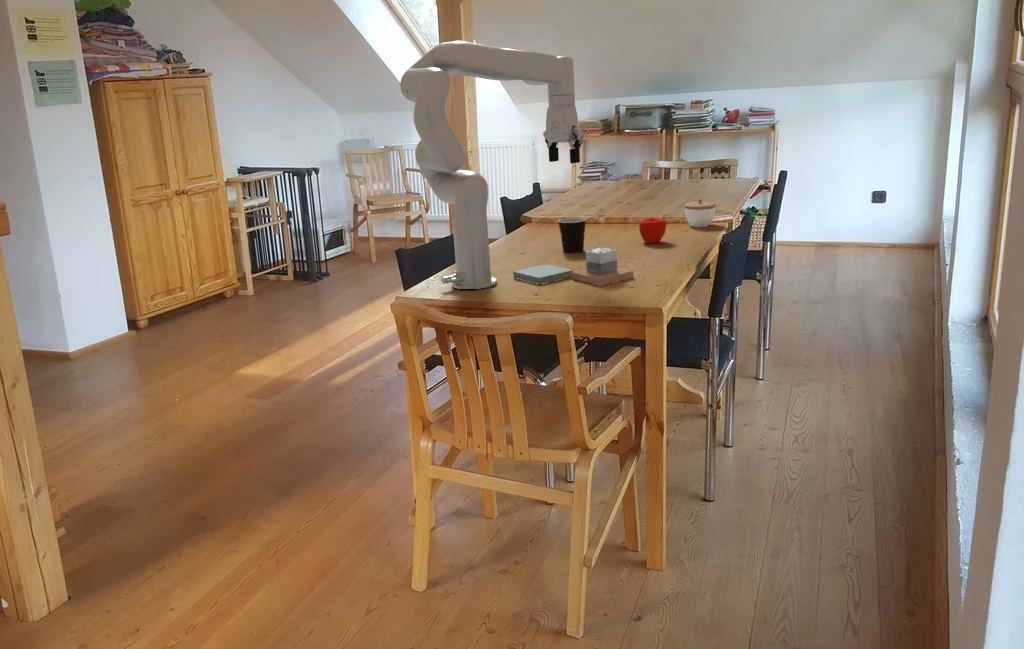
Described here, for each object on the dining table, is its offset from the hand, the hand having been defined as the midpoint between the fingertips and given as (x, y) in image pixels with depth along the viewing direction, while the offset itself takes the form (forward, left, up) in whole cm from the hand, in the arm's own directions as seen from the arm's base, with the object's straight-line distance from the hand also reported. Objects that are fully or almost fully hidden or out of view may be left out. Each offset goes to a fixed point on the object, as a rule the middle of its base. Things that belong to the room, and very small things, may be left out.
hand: (564, 162), depth 251 cm
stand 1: (-16, -8, -30) cm, 35 cm away
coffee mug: (+14, +14, -31) cm, 36 cm away
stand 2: (-6, -22, -30) cm, 38 cm away
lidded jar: (+69, +11, -31) cm, 76 cm away
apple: (+38, +3, -31) cm, 49 cm away
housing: (-6, -22, -28) cm, 36 cm away
